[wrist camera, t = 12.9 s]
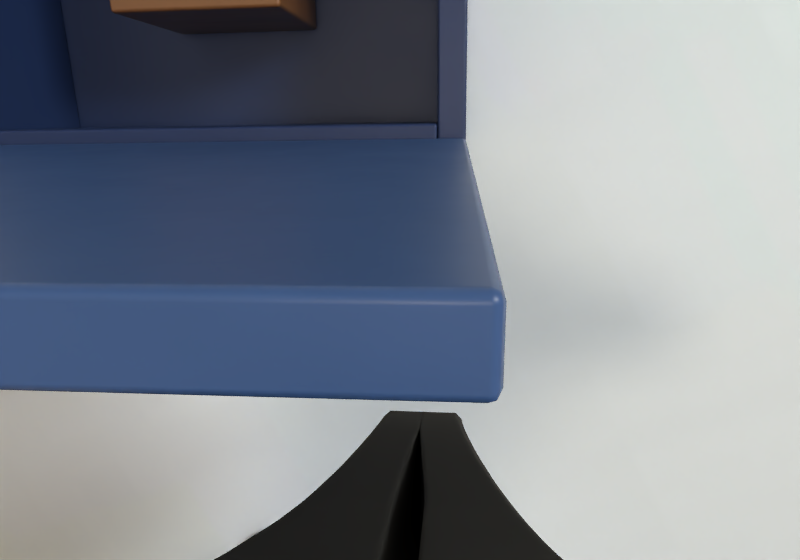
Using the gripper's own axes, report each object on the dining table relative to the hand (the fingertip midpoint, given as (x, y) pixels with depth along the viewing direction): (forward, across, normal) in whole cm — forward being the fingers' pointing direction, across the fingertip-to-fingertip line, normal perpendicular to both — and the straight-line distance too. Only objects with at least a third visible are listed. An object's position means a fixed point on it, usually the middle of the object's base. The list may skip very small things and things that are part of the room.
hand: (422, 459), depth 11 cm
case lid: (-2, +5, -6) cm, 8 cm away
